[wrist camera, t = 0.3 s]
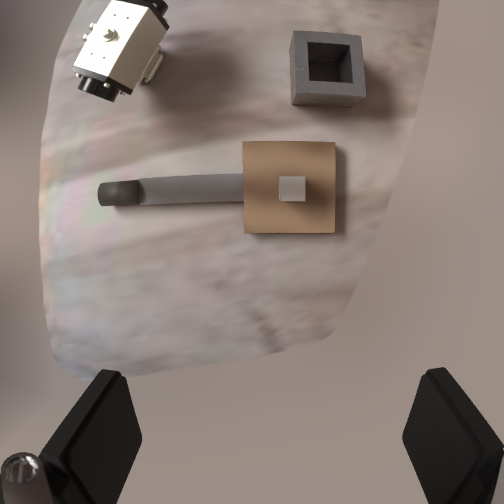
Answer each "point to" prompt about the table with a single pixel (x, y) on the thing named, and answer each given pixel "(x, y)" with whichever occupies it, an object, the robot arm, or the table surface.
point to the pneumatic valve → (122, 48)
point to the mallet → (253, 188)
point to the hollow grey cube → (327, 50)
